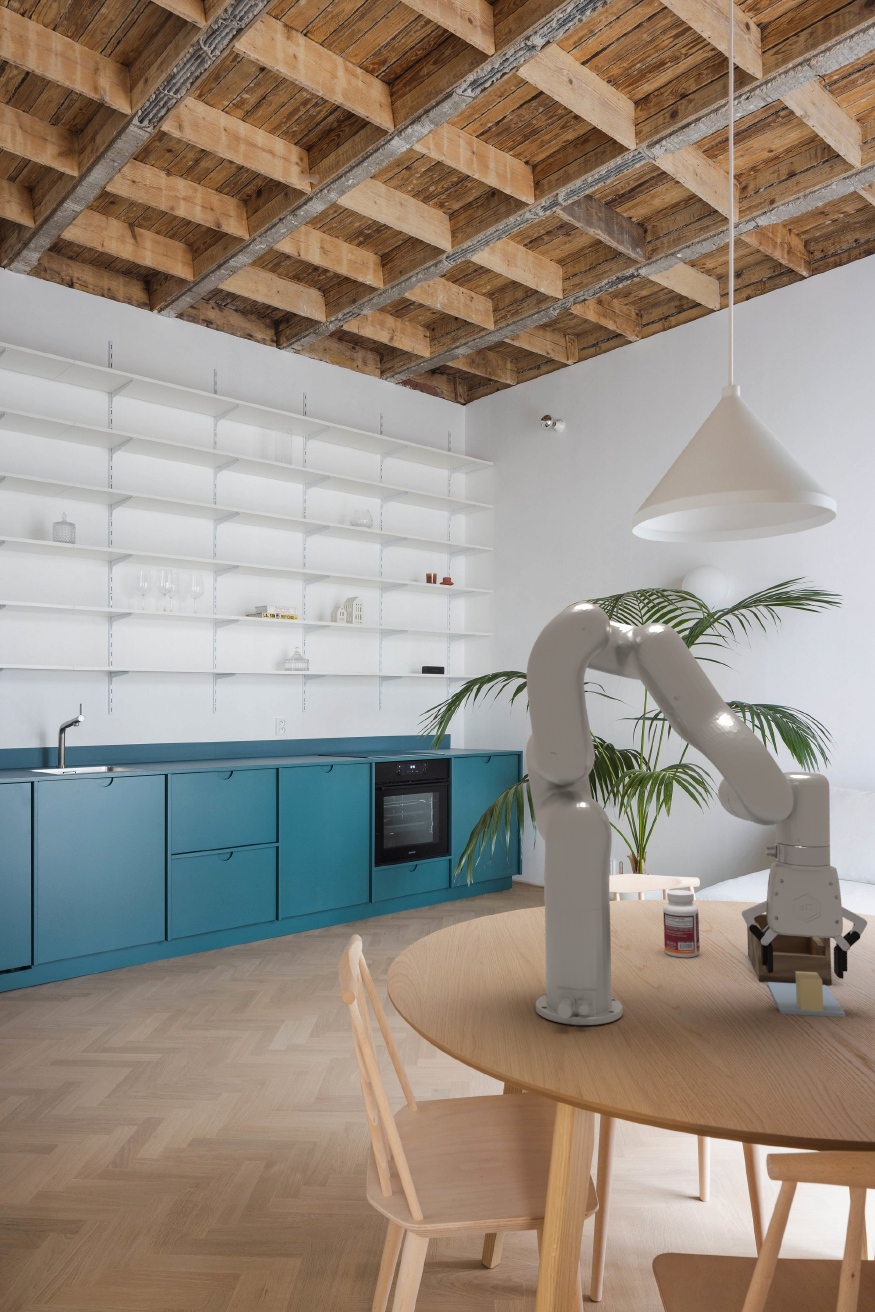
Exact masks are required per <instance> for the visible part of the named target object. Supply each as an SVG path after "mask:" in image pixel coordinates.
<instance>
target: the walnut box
mask: <svg viewBox="0 0 875 1312" xmlns="http://www.w3.org/2000/svg"><path fill="white" fill-rule="evenodd" d="M754 922H755V924H756V925H757V926H758V927H759V928H760V929H761V930H762V931H763V930H764V929H765V928H766V927H767V925H768V923H767V918H766V914H765V913H763V914H761V915H758V916H756V917H755V918H754ZM746 929H747V932H746V934H747V956H748V959H749V961H750V963H751V965H752V968H753V970H754V972H755V976H756V977H757V980H758V982H762V983H763V982H766V983H767V982H775V983H794V984H796V973H795V971H799V972H817V973H818V975H819V976H820V978H821V979H822V985H826V986H832V984H833V983H832V981H833V979H832V957H831V956H832V955H831V953H832V951H831V938H818V937H803V936H789V935H781V934H777V935H776V936H775V938H774V939H773V940H772V941H771V944H772V946H773V972H772V973H768V972H767V970H766V966H764V965H762V964H761V942H760V941H759V940H758V939H757V938H756V937H755V936H754V935H753V934H752V933H751V932H750V930H749V928H748V926H747V925H746Z"/></svg>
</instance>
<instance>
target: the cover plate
mask: <svg viewBox="0 0 875 1312" xmlns="http://www.w3.org/2000/svg"><path fill="white" fill-rule="evenodd" d="M795 973H796V983H782V982H766V985H767V988H768V989H769V993H770V994H771V996H772V998H773V1001H774V1002H775V1005H776V1007H777V1009H778V1011H779V1014H787V1015H803V1016H819V1017H833V1018H835V1017H837V1018H846V1017H847V1015H846V1012H845V1011H844V1009H843V1008H842V1006H841V1005H840V1004H839V1002H838V1000H837V999H836V998H835V996H834V995H833V992H831V990H830V989H829V987H828V985H822V979H821V978H820V976H819V975H818V973H817V972H799V971H795Z"/></svg>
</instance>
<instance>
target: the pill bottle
mask: <svg viewBox="0 0 875 1312" xmlns="http://www.w3.org/2000/svg"><path fill="white" fill-rule="evenodd" d="M694 897H695V895H694V892H693V891H690V890H683V889H670V890H668V891H666V899H667V901H668V902H667V903H666V904H664V906H663V939H664V941H663V942H664V943H663V944H664V951H665V953H666V954H667V955H668V956H671V957H676V958H683V959H684V958H685V959H686V958H695V957H697V956H698V955H700V945H701V944H700V926H699V925H700V922H699V921H700V920H699V919H700V918H699V908H698V907H697V905H696V904H694V903H693V902H694Z"/></svg>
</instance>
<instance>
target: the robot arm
mask: <svg viewBox="0 0 875 1312" xmlns="http://www.w3.org/2000/svg"><path fill="white" fill-rule="evenodd" d="M587 669H589V670H594V671H597V672H601V673H605V674H609V675H613V676H617V677H622V678H627V679H632V680H638V681H641V683H642V685H643V686H644V687H645V690H646V691H647V692H648V693H649V695H650V696H651V698H652V699H653V701H654V703H655V704H656V706H657V707H658V708H659V710H660V711H661V713H662V715H663V717H664V718H665V719H666V721H667V722H668V724H669V725H670V727H671V728H672V730H673V731H674V732H675V733H676V734H677V735H678V736H679V737H680V738H681V739H682V740H683V741H685V742H686V744H687V743H688V744H689V745H690V746H691V747H693V748H694V749H696V750H697V751H698V752H700V753H701V754H702V755H703V756H704V757H705V758H707V760H708V761H709V762H711V764H712V765H713V766H714V767H715V769H716V770H717V771H718V772H719V773H720V774H721V776H722V779H721V782H720V784H719V785H718V789H717V796H718V801H719V802H720V805H721V806H722V807H723V809H724V810H725V811H726V812H728V813H729V814H730V815H731V816H733V817H735V818H738V819H741V820H743V821H748V822H751V823H754V824H757V825H762V826H774V825H775V841H774V844H773V845H771V846H765V856H767V857H769V856H770V857H773V858H774V860H775V862H773V861H772V863H771V865H770V868H769V874H768V880H767V881H768V882H767V892H766V893H767V894H766V900H764V901H762V902H760V903H758V904H756V905H754V906H753V905H752V906H751V907H749V908H747V909H744V910H742V911H741V916H742V919H744V922H745V924H746V927H747V926H748V928H749V930H750V932H751V933H752V934H753V935H754V936H755V937H756V938H757V939H758V940H759V941H760V942H761V964H762V965H764V966H766V970H767V972H768V973H772V972H773V946H772V944H771V941H772V940H773V939H774V938H775V936H776V935H777V934H781V935H789V936H803V937H818V938H830V939H833V941H835V945H834V947H833V973H834V974H835V976H836V977H837V978H838V979H840V980H842V979H843V980H844V974H845V973H846V972H848V951H850V949H851V947H852V946H853V945H855V944H857V942H859V940H860V939H861V935H862V934H863V933H864V931H865V930H866V927H867V926H868V921H867V920H866V919H865V918H864V917H862V916H860V915H858V914H857V913H855V912H852V911H851V910H849V909H847V908H845V907H843V905H842V895H841V885H840V880H839V874H838V871H837V868H836V867H835V866H832V865H831V837H830V836H831V827H830V826H831V823H830V822H831V819H830V814H831V812H830V810H831V809H830V805H831V803H830V799H831V798H830V797H831V796H830V783H829V778H827V777H826V776H825V775H823V774H820V773H815V772H805V771H803V772H802V771H787V772H783V770H782V769H781V768H780V766H779V765H778V763H777V762H776V760H775V758H774V757H773V756H772V754H771V753H770V751H769V750H768V748H767V747H766V746H765V745H764V744H763V742H762V741H761V740H760V738H759V737H758V736H757V735H756V734H755V733H754V732H753V730H752V729H750V727H749V726H748V725H747V724H746V723H745V722H744V721H743V720H742V719H741V718H740V717H739V716H738V715H737V713H736V712H735V711H734V710H733V709H732V708H731V707H730V705H728V704H727V703H726V702H725V700H724V699H723V698H722V696H721V695H720V694H719V692H718V690H717V689H716V688H715V686H714V684H713V683H712V681H711V680H710V679H709V677H708V676H707V674H706V673H705V671H704V670H703V668H702V667H701V665H700V663H699V662H698V661H697V659H696V658H695V656H694V655H693V653H692V652H691V650H690V649H689V647H688V646H687V644H686V643H685V641H684V640H683V639H682V637H681V635H680V634H679V633H678V632H677V631H676V630H675V629H674V628H673V627H671V626H670V625H668V624H665V623H661V622H652V623H651V622H650V623H646V624H641V625H640V626H637V625H631V624H626V623H622V622H618V621H613V620H610V619H609V616H608V614H607V613H606V611H604V609H602V608H601V607H600V606H599V605H596V604H595V603H592V602H585V601H583V602H577V603H573V604H571V605H569V606H567V607H565V608H564V609H563V610H561V611H560V612H559V613H557V615H555V616H554V617H553V618H552V619H551V620H549V622H548V623H547V624H546V625H545V626H544V628H543V629H542V630H541V632H540V633H539V634H538V636H537V638H536V640H535V641H534V643H533V646H532V647H531V651H530V653H529V657H528V662H527V667H526V692H527V700H528V709H529V711H528V712H529V717H530V719H529V720H530V726H531V735H530V736H529V738H528V741H527V744H526V750H525V751H526V752H525V758H526V761H525V762H526V768H527V775H528V780H529V781H528V782H529V788H530V794H531V801H532V807H533V813H534V820H535V824H536V827H537V830H538V833H539V834H540V836H541V838H542V839H543V840H544V844H545V845H544V849H545V850H544V852H545V853H544V875H543V877H544V880H543V881H544V884H543V885H544V886H543V887H544V888H543V889H544V890H543V891H544V892H543V893H544V894H543V895H544V900H543V901H544V923H545V924H544V925H545V926H544V930H545V931H544V932H545V933H544V934H545V935H544V936H545V937H544V938H545V940H544V941H545V990H546V991H545V993H546V994H544V995H541V996H540V997H539V998H537V999H536V1000H535V1001H536V1002H535V1011H536V1013H537V1014H538V1015H539V1016H540V1017H542V1018H544V1019H547V1020H549V1021H551V1022H556V1023H560V1024H565V1025H573V1026H595V1025H598V1026H599V1025H603V1024H609V1023H611V1022H615V1021H617V1020H618V1019H620V1018H621V1017H622V1016H623V1013H624V1009H623V1007H624V1006H623V1004H622V1003H621V1001H620V1000H618V999H617V998H615V997H613V996H612V993H613V991H612V954H611V953H612V946H611V944H612V943H611V940H612V939H611V904H610V897H611V896H610V868H611V867H610V866H611V853H612V843H613V840H612V839H613V838H612V835H613V834H612V826H611V822H610V819H609V816H608V815H607V812H606V811H605V809H604V808H603V807H602V806H601V804H600V803H599V802H598V801H596V800H595V799H593V796H592V790H591V789H592V788H591V784H590V777H589V775H590V774H591V771H592V769H593V768H594V764H595V758H596V756H595V747H594V742H593V738H592V734H591V728H590V723H589V720H590V719H589V714H588V710H587V703H586V701H587V700H586V693H585V674H586V670H587ZM765 913H766V918H767V923H768V925H767V927H766V928H765V929H764V930H763V931H762V930H761V929H760V928H759V927H758V926H757V925H756V924H755V922H754V918H755V917H756V916H758V915H761V914H765ZM843 918H844V919H845V920H848V921H849V922H850V923H852V924H853V925H852V928H851V929H850V930H849V931H848V932H847V933H846V934H844V935H842V934H843V932H844V931H843V929H844V923H843V922H844V921H843ZM844 972H845V973H844Z"/></svg>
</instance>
